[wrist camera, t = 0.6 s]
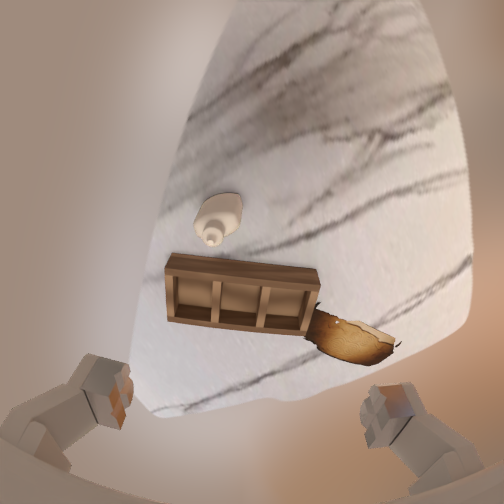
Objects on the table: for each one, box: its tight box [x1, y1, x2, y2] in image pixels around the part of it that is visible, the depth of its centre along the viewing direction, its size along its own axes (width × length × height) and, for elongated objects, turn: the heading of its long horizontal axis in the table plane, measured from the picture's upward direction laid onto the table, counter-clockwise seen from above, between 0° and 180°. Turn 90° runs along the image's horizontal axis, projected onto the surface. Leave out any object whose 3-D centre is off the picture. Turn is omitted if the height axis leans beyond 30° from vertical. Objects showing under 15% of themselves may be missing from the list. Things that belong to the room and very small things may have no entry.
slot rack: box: [165, 253, 321, 336], centre depth 47 cm, size 10×23×4 cm, turn 83°
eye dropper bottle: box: [194, 193, 243, 247], centre depth 37 cm, size 4×6×12 cm
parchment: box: [302, 303, 402, 366], centre depth 55 cm, size 25×10×1 cm, turn 59°
